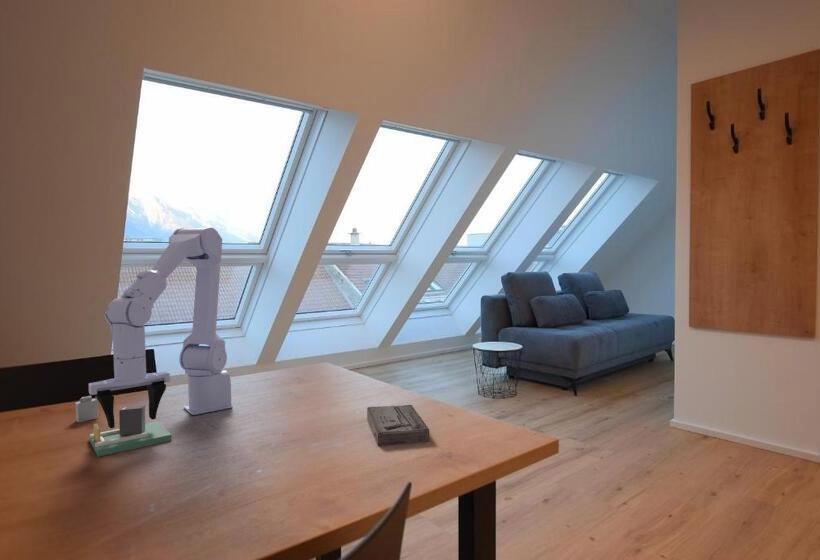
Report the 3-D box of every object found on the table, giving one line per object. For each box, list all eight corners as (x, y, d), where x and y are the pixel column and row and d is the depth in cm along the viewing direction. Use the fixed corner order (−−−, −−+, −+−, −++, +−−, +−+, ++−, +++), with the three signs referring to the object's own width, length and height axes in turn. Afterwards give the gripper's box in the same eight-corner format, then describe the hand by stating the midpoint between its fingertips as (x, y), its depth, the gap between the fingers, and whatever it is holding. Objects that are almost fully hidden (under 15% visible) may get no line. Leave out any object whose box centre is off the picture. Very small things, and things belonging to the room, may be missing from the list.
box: (411, 417, 120) (411, 403, 120) (430, 443, 103) (430, 428, 103) (365, 420, 118) (365, 406, 118) (377, 448, 101) (377, 432, 101)
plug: (145, 429, 108) (144, 405, 109) (141, 433, 104) (141, 407, 105) (123, 432, 107) (123, 407, 107) (119, 435, 103) (119, 409, 104)
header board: (158, 426, 114) (157, 407, 114) (171, 440, 105) (170, 420, 105) (89, 440, 106) (88, 420, 106) (97, 456, 97) (96, 434, 97)
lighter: (78, 422, 117) (77, 387, 117) (75, 421, 118) (74, 386, 118) (112, 414, 123) (110, 381, 122) (109, 413, 124) (107, 380, 123)
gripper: (161, 349, 113) (163, 410, 114) (84, 358, 103) (87, 425, 104) (172, 353, 108) (174, 417, 108) (92, 364, 98) (95, 434, 99)
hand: (132, 422), depth 106 cm, fingers open, 7 cm apart
